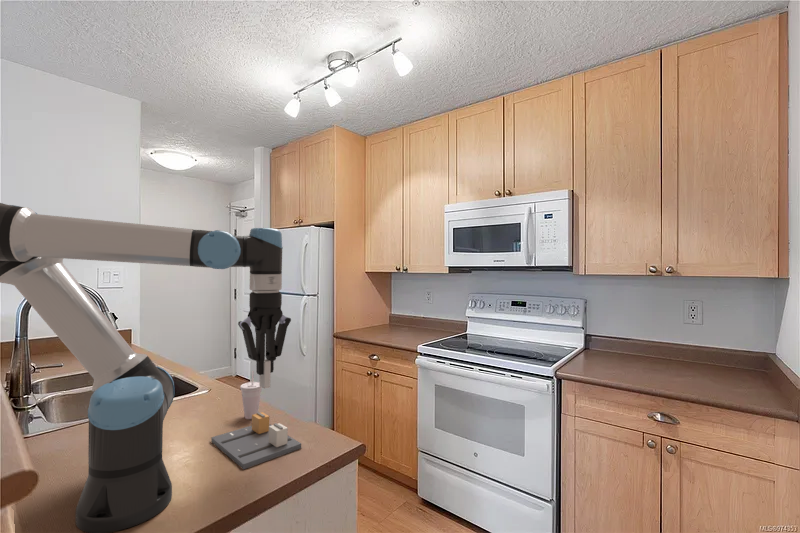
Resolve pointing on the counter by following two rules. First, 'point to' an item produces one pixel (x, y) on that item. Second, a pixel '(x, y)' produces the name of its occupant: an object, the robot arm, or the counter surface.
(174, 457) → the counter surface
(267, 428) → the orange fader
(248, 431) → the fader board
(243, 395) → the smoothie
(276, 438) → the cream fader
